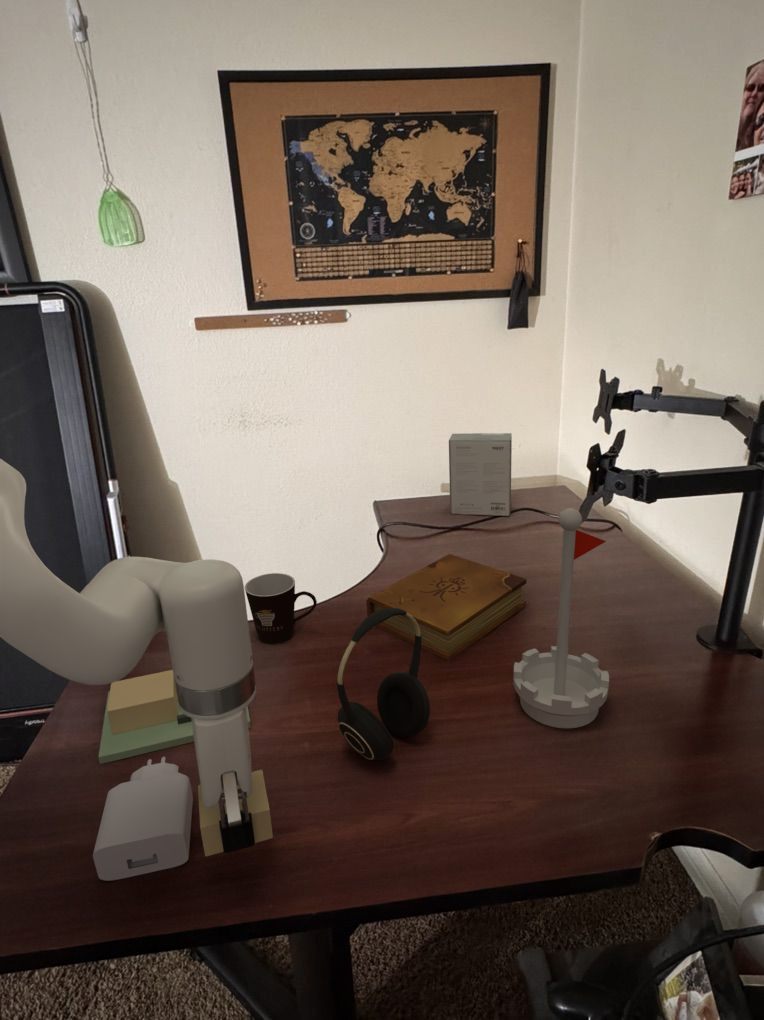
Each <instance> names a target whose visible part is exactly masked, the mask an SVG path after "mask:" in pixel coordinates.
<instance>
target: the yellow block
mask: <svg viewBox="0 0 764 1020" xmlns="http://www.w3.org/2000/svg"><path fill="white" fill-rule="evenodd" d="M237 789H241V788H240V787H239V785H237ZM221 793H224V789H222V792H221ZM197 794H198V809H199V810H198V812H199V829H200V835H201V841H202V846H203V852H204V857H209V856H213V855H217V854H220V853H224V851H223V844H222V838H221V832H220V826H219V820H221V817H220V810H219V803H218V804H217V806H216V807H212V808H209V809H208V808H206V807H205V806H204V805H203V798H202V791H201V784H198V785H197ZM246 798H247V797H246ZM224 805H225V812H226V814H227V809H226V803H224ZM247 806H248V813H250V812H251V816H252V824H253V831H254V838H255V844H257V843H262V842H264V841H268V840H270V839H274V834H273V826H272V817H271V809H270V805H269V799H268V794H267V788H266V783H265V778H264V772H263V769H259V770H255V771H252V794H251V796H250V797H249V798H247ZM239 807H240V810H242V811H243V807H242V800H241V799H239Z"/></svg>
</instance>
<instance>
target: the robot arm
mask: <svg viewBox="0 0 764 1020" xmlns="http://www.w3.org/2000/svg"><path fill="white" fill-rule="evenodd" d="M26 494H27V482H26V479H25V477H24V476H23V474H22V473H21V472H20V471H19V470H17V469H16V468H15V467H13V466H12V465H10V464H9V463H7V462H6V461H4V460H3V459H2V458H0V638H1V639H2V640H3V641H5V642H6V643H7V644H8V645H10V646H11V647H13V648H14V649H16V650H17V651H19V652H21V653H23V654H24V655H25V656H27V657H28V658H30V659H31V660H33V661H35V662H36V663H38V665H40V666H42V667H44V668H45V669H46V670H48V671H50V672H52V673H54V674H56V675H58V676H60V677H62V678H65V679H66V680H69V681H71V682H74V683H75V682H76V683H78V684H82V685H88V686H104V685H109V684H111V683H113V682H116V681H121V680H123V678H125V677H126V676H127V675H128V674H130V673H131V672H132V671H133V670H134V669H135V668H136V666H137V665H138V664H139V662H140V660H141V659H142V658H143V656H144V654H145V652H146V651H147V649H148V647H149V645H150V644H151V642H152V640H153V638H154V637H155V635H157V634H158V633H160V632H163V633H164V634H165V635H166V640H167V646H168V647H167V648H168V652H169V657H170V663H171V668H172V669H171V670H173V675H174V681H175V687H176V693H177V698H178V704H179V708H180V710H181V711H182V712H183V713H184V714H185V715H186V716H188V717H191V720H192V729H193V737H194V742H193V744H194V751H195V758H196V763H197V770H198V777H199V785H201V791H202V798H203V805H204V806H205V807H206V808H208V809H209V808H212V807H216V806H217V804H218V803H219V810H220V817H221V820H219V826H220V832H221V838H222V844H223V851H224V852H223V853H225V854H230V853H233V852H237V851H240V850H244V849H247V848H251V847H254V846H255V844H256V843H255V838H254V831H253V824H252V816H251V812H250V813H248V806H247V798H249V797H250V796H251V794H252V772H253V770H252V755H251V754H252V753H251V752H252V751H251V740H250V730H249V729H250V728H249V729H248V720H247V712H246V707H247V706H248V707H249V705H250V704H251V703H252V702H253V700H254V699H255V697H256V695H257V694H256V693H257V685H256V676H255V668H254V659H253V652H252V644H251V636H250V627H249V618H248V609H247V602H246V592H245V585H244V580H243V577H242V574H241V572H240V570H239V569H238V568H237V567H236V566H235V565H234V564H232V563H230V562H228V561H225V560H221V559H213V558H212V559H198V560H193V561H189V562H179V561H172V560H164V559H158V558H152V557H146V556H145V557H144V556H124V557H119V558H117V559H113V560H111V561H110V562H108V563H107V564H105V565H104V566H103V567H102V568H101V569H100V570H99V571H98V572H97V573H96V574H95V576H94V577H93V578H92V579H91V580H90V581H89V583H87V585H85V586H84V588H83V589H82V590H81V591H80V592H78V591H77V590H75V589H74V588H72V587H70V585H69V584H67V583H66V582H64V581H62V580H61V579H60V578H59V577H58V576H57V575H55V574H54V573H53V572H52V571H51V570H50V569H49V568H48V567H47V565H45V564H44V563H43V561H42V560H41V558H40V557H39V556H38V555H37V553H36V552H35V550H34V548H33V546H32V545H31V542H30V540H29V537H28V534H27V529H26V524H25V505H26V504H25V503H26V496H27V495H26ZM237 785H239V787H240V788H241V789H237ZM222 789H224V793H221V792H222ZM246 797H247V798H246ZM239 799H241V800H242V807H243V811H242V810H240V807H239ZM224 803H226V809H227V814H226V812H225V805H224Z"/></svg>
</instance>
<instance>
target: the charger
mask: <svg viewBox="0 0 764 1020" xmlns="http://www.w3.org/2000/svg"><path fill="white" fill-rule="evenodd" d="M166 759H167V758H166V756H162V757H161V760H160V762H158V763H154V764H152V762H153V760H152V759H151V758H150V759H148V760H147V763H146V765H143V766H142V767H140V768H138V769H137V770H134V772H132V774H131V775H130V779H129V781H126V782H120V783H119V784H117V785H115V786H114V787H113V788H111V789H110V790H108V791H107V794H106V795H107V796H106V799H105V802H104V803H105V804H104V808H103V813H102V815H101V820H100V824H99V827H98V828H99V829H98V832H97V836H96V841H95V845H94V849H93V852H92V859H93V862H94V865H95V870H96V874H97V876H98V879H99V880H102V881H107V882H108V881H118V880H122V879H128V878H131V877H135V876H136V877H137V876H141V875H145V874H149V873H154V872H159V871H163V870H167V869H173V868H176V867H179V866H182V865H184V864H185V863H187V861H189V856H190V845H191V844H190V843H191V832H192V831H191V828H192V816H193V805H194V803H193V802H194V796H193V795H194V794H193V790H192V785H191V780H190V777H189V776H188V775H185V774H184V773H180V772H179V768H180V767H179V766H178V765H177V764H174V763H169V762H166Z"/></svg>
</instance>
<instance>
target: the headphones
mask: <svg viewBox="0 0 764 1020" xmlns="http://www.w3.org/2000/svg"><path fill="white" fill-rule="evenodd" d="M396 615H403V616H407V617H408V618H410V620H411V621H412V622H413V624H414V626H415V629H416V634H415V643H414V644H413V645H414V646H413V651H412V657H411V661H410V665H409V669H408V672H404V671H396V672H392V673H390V674H388V675H387V676H386V677H385V678H383V680H382V681H381V683H380V685H379V687H378V688H377V689H378V690H377V694H376V705H377V711H378V715H379V717H380V718H378V716H377V715H375V713H373V712H372V711H371V710H370V709H369V708H368V707H366V706H364V705H363V704H361V703H359V702H356V701H349V699H348V696H347V693H346V687H345V683H344V681H343V676H344V671H345V668H346V664H347V661H348V659H349V656H350V654H351V652H352V650H353V649H354V647H355V645H356V644H357V643H359V642H360V640H361V639H362V638H363V637H364V636H365V635H366V634H367V633H369V632H370V630H372V629H373V628H375V626H376V625H377V624H379V623H381V622H383V621H385V620H387V619H388V618H390V617H392V616H396ZM421 655H422V648H421V633H420V628H419V626H418V623H417V622H416V620H415V619H414V618H413V617H412V616H411V615H410V614H408V613H407V612H406V611H404V610H402V609H399V608H385V609H381V610H379V611H376V612H374V613H372V614H371V615H370V616H368V617H367V616H366V617H365V619H364V620H363V621H362V622H361V623H360V624H359V626H358V627H357V628H356V630H355V631H354V633H353V635H352V636H351V638H350V642H349V643H348V646H347V647H346V649H345V651H344V653H343V656H342V658H341V661H340V664H339V667H338V671H337V681H336V689H337V694H338V698H339V701H340V704H341V707H340V708H339V709H338V712H337V723H338V724H337V727H338V730H339V732H340V734H341V735H342V737H343V738H344V739H345V741H346V742H347V743H348V745H349V746H351V748H352V749H353V750H355V751H356V752H357V754H359V755H361V756H362V757H363V758H365V759H367V760H369V761H370V760H371V761H372V760H374V761H383V760H387V758H389V757H390V756H391V754H393V750H394V748H395V747H394V739H393V737H392V735H393V734H394V735H395V736H398V737H401V738H411V737H414V736H417V735H418V734H420V733H422V731H424V729H425V728H426V726H427V725H428V723H429V719H430V716H431V714H430V713H431V703H430V697H429V695H428V692H427V690H426V687H425V686H424V685H423V683H422V682H421V681H420V680H419V679H418V675H419V669H420V663H421ZM391 733H392V735H391Z"/></svg>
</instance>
